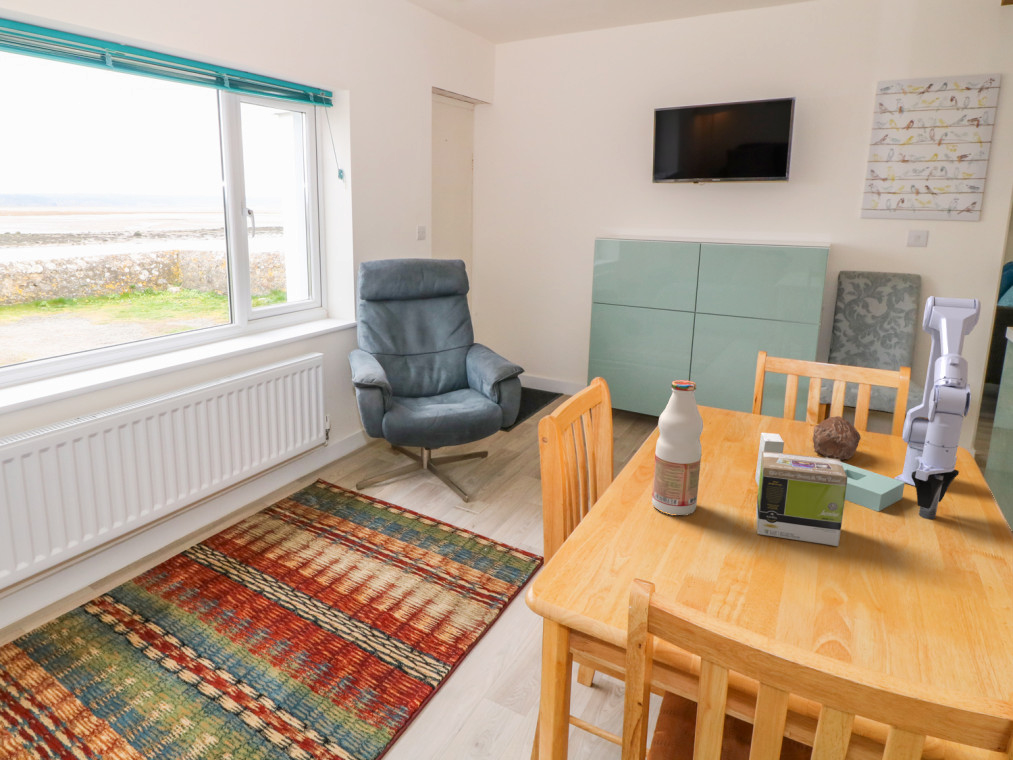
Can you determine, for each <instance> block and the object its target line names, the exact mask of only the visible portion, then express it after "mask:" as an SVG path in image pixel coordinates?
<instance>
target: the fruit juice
mask: <svg viewBox="0 0 1013 760" xmlns="http://www.w3.org/2000/svg"><path fill="white" fill-rule="evenodd" d="M696 390H697V383H696V382H694V381H691V380H687V379H677V380H673V381H672V382H671V391H672V394H671V396H670V397H669V400H668V403H667V405H666V406H665V407H664V408H665V409H663V411H662V412H661V414H660V415H659V418H658V423H657V425H658V431H659V436H658V438H657V440H656V445H655V454H654V464H653V465H654V467H653V480H652V481H653V482H652V493H651V503H653V504H652V506H653V505H654V506H655V507H656V508H657V509H659V510H662V511H663V512H667V513H670V514H676V515H685V516H688V515H687V514H689V515H691V514H693V513H694V512H695V511H696V508H697V503H698V492H699V481H700V474H701V473H700V471H701V462H702V461H701V459H702V442H701V440H700V439H701V435H702V434H703V430H704V420H703V417H702V416H701V414H700V411H699V408H698V404H697V401H696V400H697V399H696V397H695V392H696ZM690 513H691V514H690Z"/></svg>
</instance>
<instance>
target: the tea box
mask: <svg viewBox="0 0 1013 760" xmlns="http://www.w3.org/2000/svg"><path fill="white" fill-rule="evenodd" d="M841 462H842V460H840V459H832V458H826V457H823V456H822V457H821V456H819V457H818V456H811V455H810V456H809V455H802V454H794V453H793V454H791V453H784V452H783V453H775V452H766V451H763V452H762V458H761V469H760V479H759V487H758V486H757V487H758V489H757V498H756V499H757V500H756V532H757V535H761V536H762V535H763V536H767V537H773V538H774V537H775V538H776V537H777V538H783V539H787V540H788V539H789V540H794V541H795V540H796V541H802V542H809V543H814V544H822V545H828V546H834V547H839V545H840V539H841V538H840V537H841V531H842V523H843V515H844V509H845V501H846V500H845V495H846V487H847V478H848V477H847V476H846V473H845V471H844V468H843V466H842V463H843V462H842V463H841Z"/></svg>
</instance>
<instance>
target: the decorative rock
mask: <svg viewBox="0 0 1013 760" xmlns="http://www.w3.org/2000/svg"><path fill="white" fill-rule="evenodd" d="M861 439H862V437H861V434H860V432H859V431H858V430H857V429H856V427H855V426H854V425H853V424H852V423H850V421H848V420H847V419H846V418H843V417H842V416H840V415H839V416H838V415H837V416H830V417H828V418H826V419H824V420H822V421H820V423H818V424H816V425H814V426H813V436H812V443H813V450H814V453H817V454H819V455H822V457H823V458H832V459H840V460H841V461H842V460H849V459H851V458H852V457H853V456H854V454H855V453H856V451H857V449H858V448H859V443H860V441H861Z"/></svg>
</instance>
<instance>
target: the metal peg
mask: <svg viewBox="0 0 1013 760" xmlns="http://www.w3.org/2000/svg"><path fill="white" fill-rule="evenodd" d="M934 477H936V479H939V480H943V477H944V476H943V475H942V474H940V473H938V474H935V475H934ZM941 487H942V485H941V486H940V487H939V489H938V491H937V493H936V495H935V497H934V500H933V503H932V505H931V507H930V508H929V509H927V508H924V507H921V506H919V509H918V510H919V511H918V516H919V517H921V518H922V519H926V520H935V519H936V517H937V513H938V512H937V511H938V507H939V503H940V502H939V497H940V492H941Z"/></svg>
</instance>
